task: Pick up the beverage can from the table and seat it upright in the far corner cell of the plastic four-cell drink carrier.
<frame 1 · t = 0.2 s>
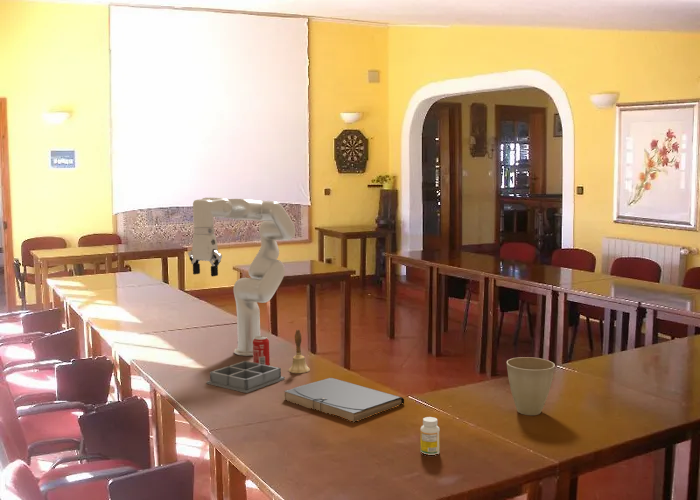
hand: (205, 274, 300), 36 cm above the table, tool pointing down, fingers open, 9 cm apart
plant pot: (529, 412, 246), on the table
hand bell: (299, 371, 296), on the table
beverage can: (261, 367, 301), on the table
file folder: (343, 404, 257), on the table
supplement bottle: (430, 453, 213), on the table
drink carrier: (245, 381, 283), on the table
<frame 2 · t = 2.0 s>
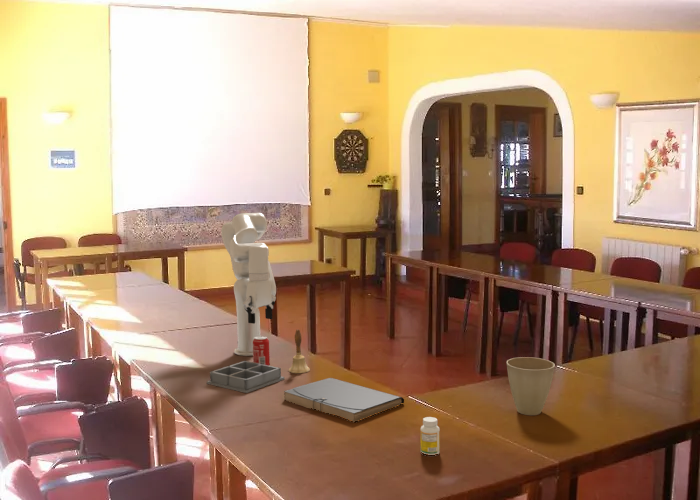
hand: (260, 320, 298), 19 cm above the table, tool pointing down, fingers open, 9 cm apart
nothing on the table moved.
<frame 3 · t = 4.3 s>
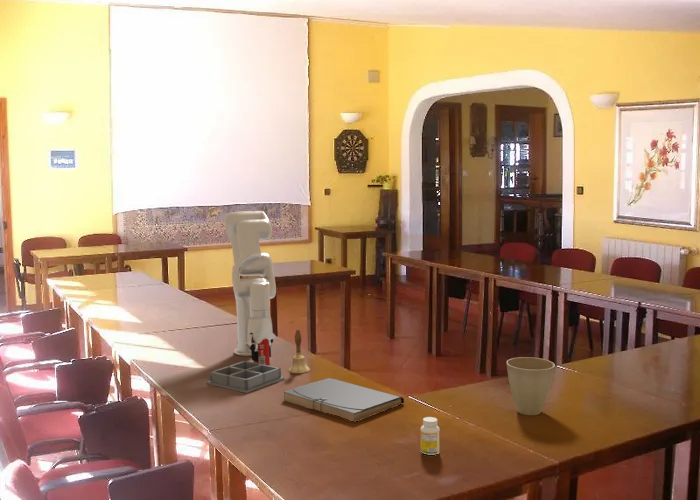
hand: (261, 358, 300), 4 cm above the table, tool pointing down, fingers closed on beverage can, 6 cm apart
beverage can: (261, 367, 301), on the table, touching gripper
everything else where it was.
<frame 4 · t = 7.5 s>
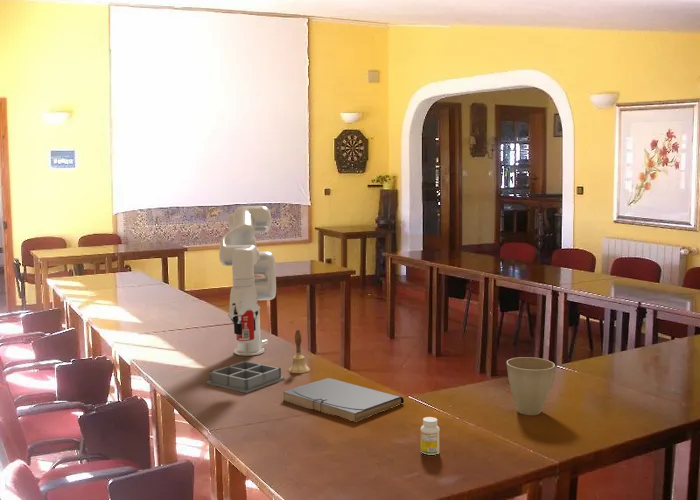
hand: (245, 331, 275), 20 cm above the table, tool pointing down, fingers closed on beverage can, 6 cm apart
beverage can: (245, 342, 275), point 16 cm above the table, touching gripper
everything else where it was.
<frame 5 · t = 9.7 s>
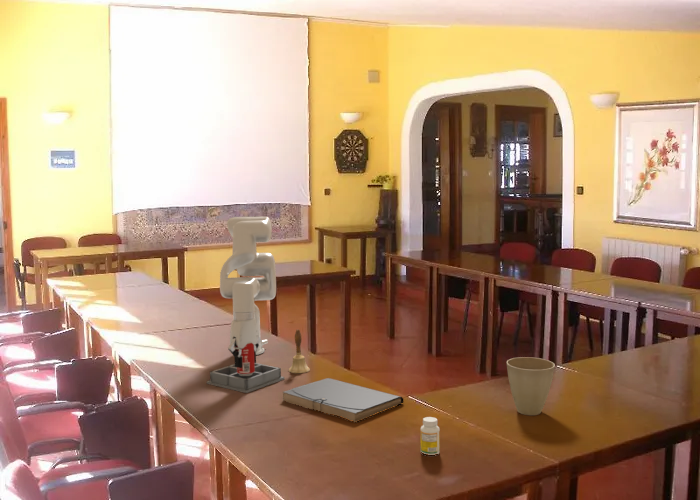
hand: (245, 364, 276), 8 cm above the table, tool pointing down, fingers closed on beverage can, 6 cm apart
beverage can: (245, 374, 276), point 4 cm above the table, touching gripper
everything else where it was.
when the fingers open (6 cm above the table, at t = 11.2 s): beverage can drops 1 cm, resting on drink carrier.
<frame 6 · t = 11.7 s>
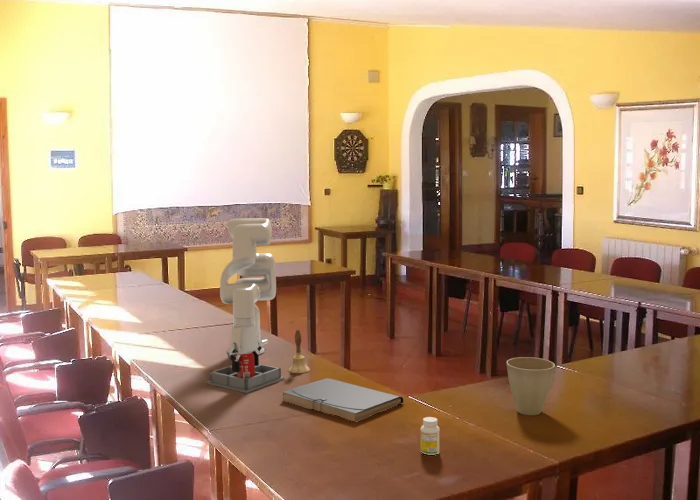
hand: (245, 368, 276), 7 cm above the table, tool pointing down, fingers open, 9 cm apart
beverage can: (246, 384, 277), point 1 cm above the table, touching drink carrier
everything else where it was.
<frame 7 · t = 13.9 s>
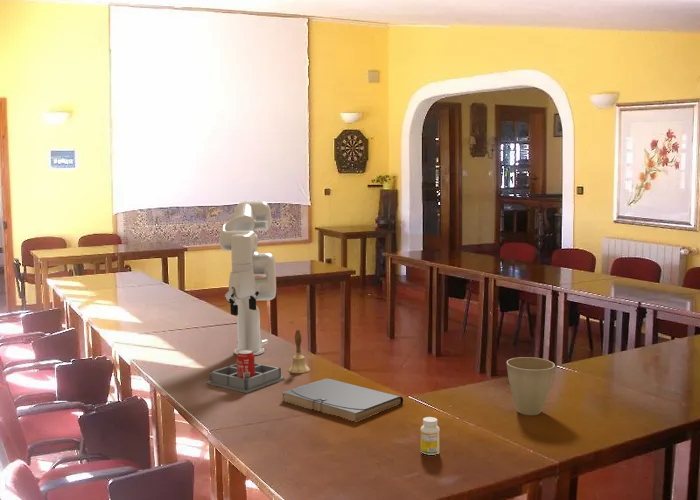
hand: (243, 312, 287), 24 cm above the table, tool pointing down, fingers open, 9 cm apart
nothing on the table moved.
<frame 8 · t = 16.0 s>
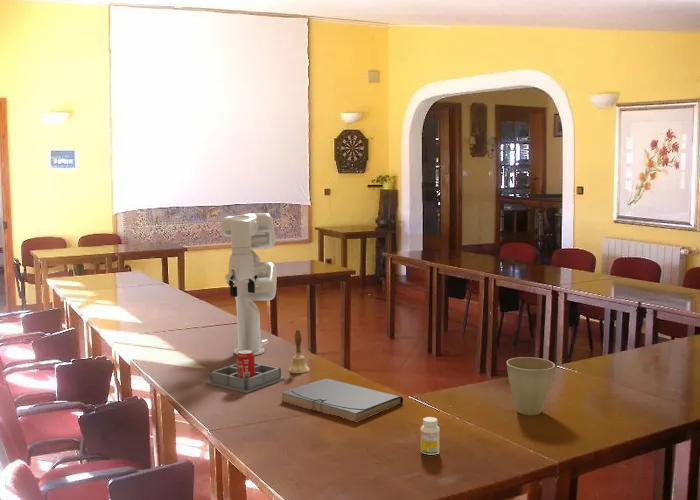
hand: (242, 294, 301), 28 cm above the table, tool pointing down, fingers open, 9 cm apart
nothing on the table moved.
at the end: beverage can 0.2 cm from the target spot on the drink carrier, point 0.6 cm above the drink carrier's base; beverage can tilted 0°; the gripper is holding nothing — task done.
